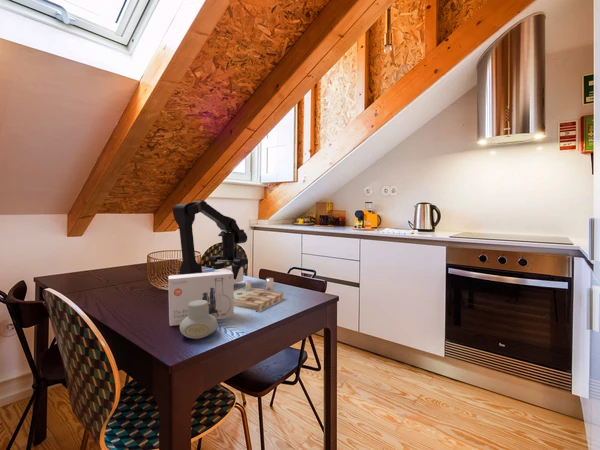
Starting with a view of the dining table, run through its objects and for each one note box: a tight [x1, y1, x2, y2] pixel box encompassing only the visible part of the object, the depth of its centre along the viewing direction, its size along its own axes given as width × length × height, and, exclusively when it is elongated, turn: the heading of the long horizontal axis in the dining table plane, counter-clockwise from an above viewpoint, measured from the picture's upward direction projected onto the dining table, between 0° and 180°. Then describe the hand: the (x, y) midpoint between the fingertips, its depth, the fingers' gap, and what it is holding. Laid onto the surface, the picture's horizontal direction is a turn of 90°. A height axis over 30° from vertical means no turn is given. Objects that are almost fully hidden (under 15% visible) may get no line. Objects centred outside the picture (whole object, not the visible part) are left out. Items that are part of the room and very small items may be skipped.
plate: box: [234, 279, 266, 299], centre depth 142 cm, size 16×11×5 cm
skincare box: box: [167, 271, 235, 327], centre depth 110 cm, size 21×5×16 cm, turn 114°
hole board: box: [234, 289, 285, 313], centre depth 128 cm, size 18×12×2 cm, turn 151°
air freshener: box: [179, 300, 219, 340], centre depth 97 cm, size 11×8×10 cm
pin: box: [265, 277, 274, 292], centre depth 140 cm, size 3×3×7 cm
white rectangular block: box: [213, 265, 244, 285], centre depth 151 cm, size 12×7×6 cm, turn 151°
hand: (229, 278), depth 151 cm, fingers closed on white rectangular block, 7 cm apart
